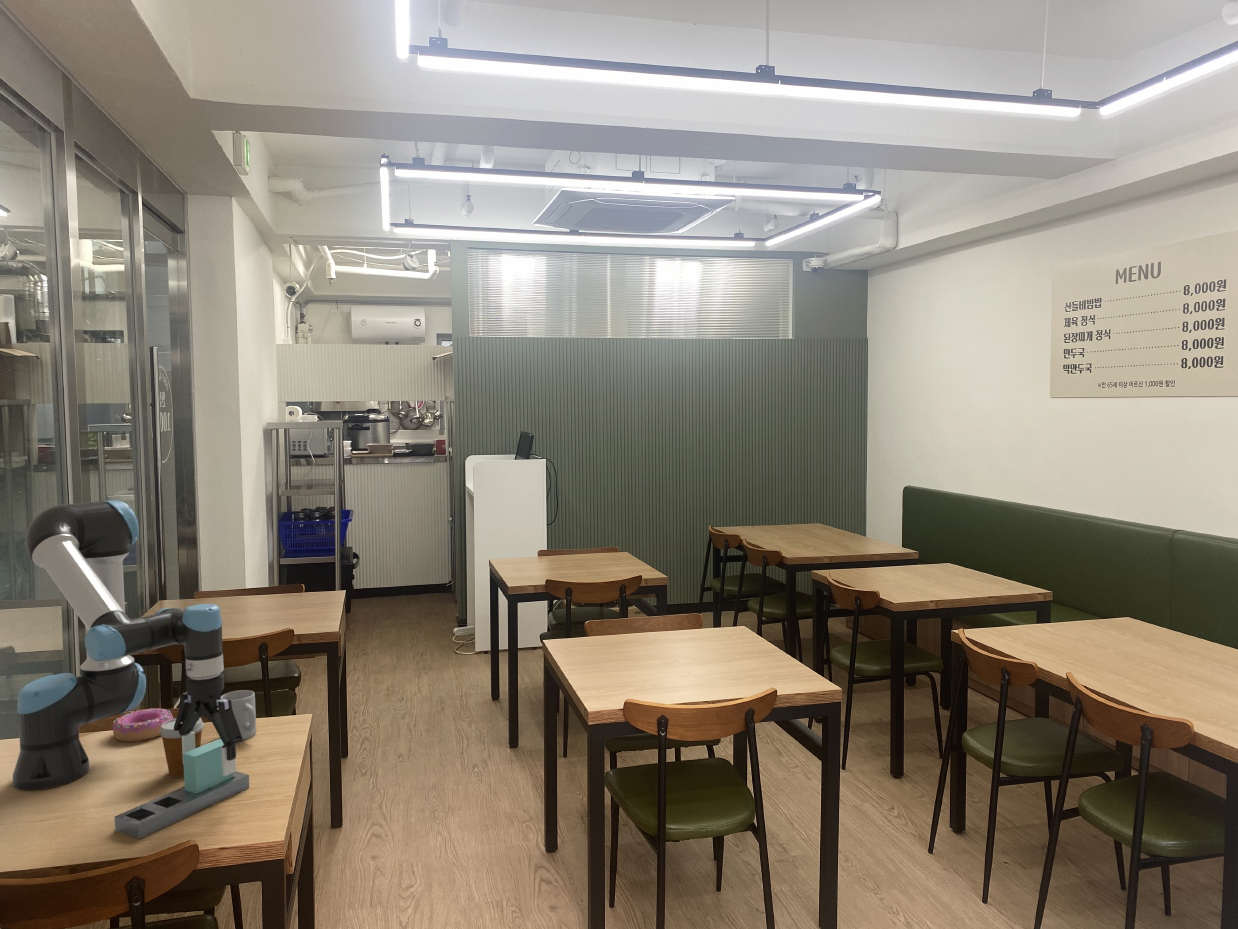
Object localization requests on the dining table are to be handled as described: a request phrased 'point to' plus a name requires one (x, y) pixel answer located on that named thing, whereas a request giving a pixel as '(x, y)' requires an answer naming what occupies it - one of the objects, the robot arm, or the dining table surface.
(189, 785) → the mint green arch block
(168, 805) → the grey long flat bar
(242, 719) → the mug
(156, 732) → the donut
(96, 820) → the dining table surface
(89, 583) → the robot arm
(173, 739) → the disposable coffee cup
